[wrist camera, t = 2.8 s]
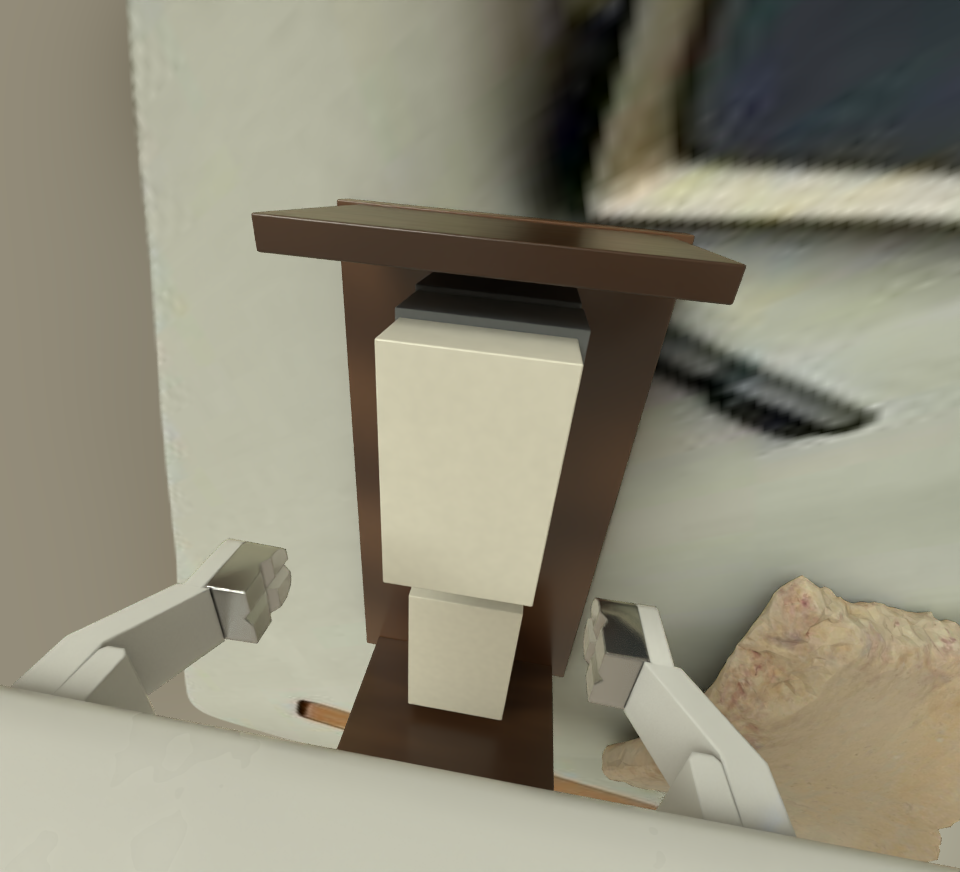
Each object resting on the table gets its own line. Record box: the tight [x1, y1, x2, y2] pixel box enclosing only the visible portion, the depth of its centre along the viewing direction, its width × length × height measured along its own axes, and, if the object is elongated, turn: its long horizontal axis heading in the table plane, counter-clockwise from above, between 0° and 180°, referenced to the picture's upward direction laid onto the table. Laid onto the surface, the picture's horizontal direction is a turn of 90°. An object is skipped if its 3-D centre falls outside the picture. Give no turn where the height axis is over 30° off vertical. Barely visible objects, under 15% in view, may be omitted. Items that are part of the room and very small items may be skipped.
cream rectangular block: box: [408, 587, 523, 720], centre depth 27 cm, size 10×6×5 cm, turn 175°
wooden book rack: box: [252, 199, 746, 791], centre depth 23 cm, size 30×15×9 cm, turn 175°
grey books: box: [395, 272, 591, 366], centre depth 20 cm, size 11×7×6 cm, turn 175°
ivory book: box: [375, 317, 584, 607], centre depth 16 cm, size 10×6×2 cm, turn 175°
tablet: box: [602, 576, 960, 862], centre depth 29 cm, size 24×8×20 cm
